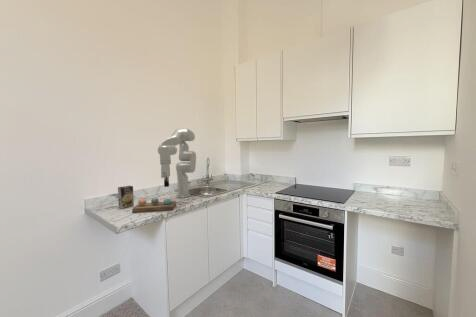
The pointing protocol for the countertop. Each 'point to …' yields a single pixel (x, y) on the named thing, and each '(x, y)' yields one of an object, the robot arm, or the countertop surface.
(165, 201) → the button teal one
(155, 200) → the button charcoal three
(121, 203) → the coffee box
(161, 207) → the button panel
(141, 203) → the button terracotta two
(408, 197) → the countertop surface
